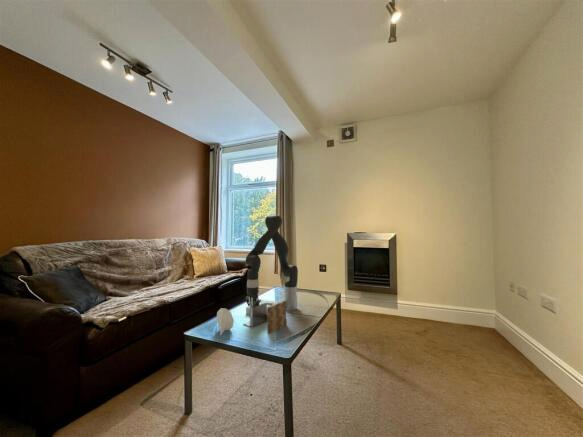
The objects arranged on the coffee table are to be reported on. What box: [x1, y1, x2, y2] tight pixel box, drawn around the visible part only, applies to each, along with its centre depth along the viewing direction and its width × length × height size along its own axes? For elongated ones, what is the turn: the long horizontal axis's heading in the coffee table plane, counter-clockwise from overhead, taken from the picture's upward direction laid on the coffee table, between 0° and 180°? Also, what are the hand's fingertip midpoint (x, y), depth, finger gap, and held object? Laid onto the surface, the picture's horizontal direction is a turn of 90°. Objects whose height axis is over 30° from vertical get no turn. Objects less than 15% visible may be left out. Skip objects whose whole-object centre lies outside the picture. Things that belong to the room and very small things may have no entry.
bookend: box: [242, 302, 267, 328], centre depth 153 cm, size 13×8×12 cm, turn 145°
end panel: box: [266, 300, 287, 334], centre depth 144 cm, size 16×2×15 cm, turn 145°
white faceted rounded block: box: [216, 307, 234, 336], centre depth 137 cm, size 10×11×15 cm
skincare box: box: [245, 299, 280, 316], centre depth 175 cm, size 21×5×16 cm
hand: (252, 313), depth 154 cm, fingers closed
